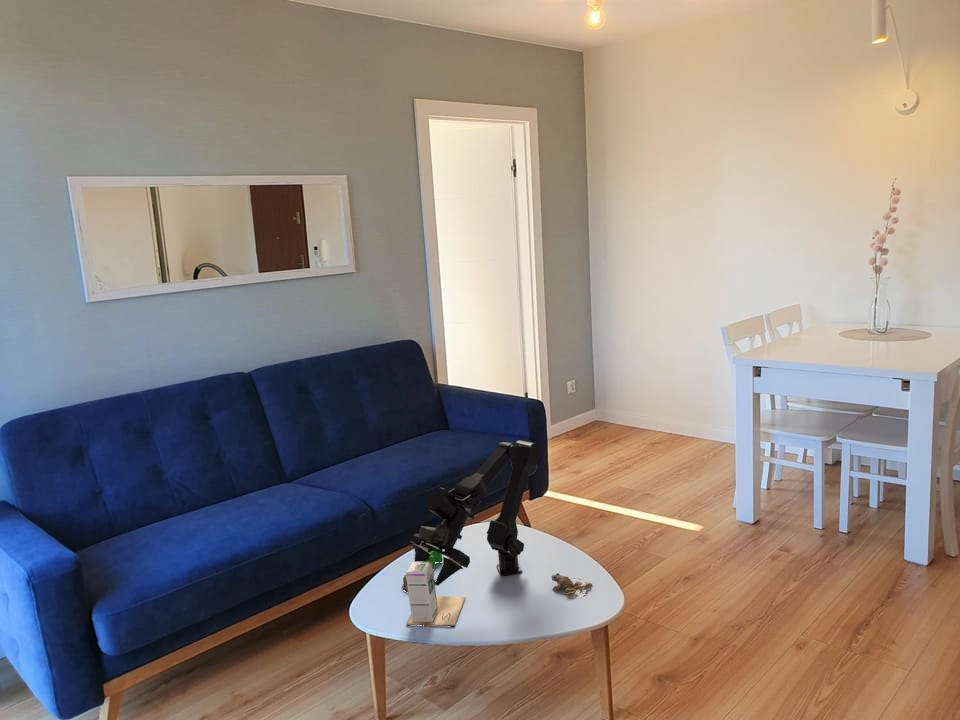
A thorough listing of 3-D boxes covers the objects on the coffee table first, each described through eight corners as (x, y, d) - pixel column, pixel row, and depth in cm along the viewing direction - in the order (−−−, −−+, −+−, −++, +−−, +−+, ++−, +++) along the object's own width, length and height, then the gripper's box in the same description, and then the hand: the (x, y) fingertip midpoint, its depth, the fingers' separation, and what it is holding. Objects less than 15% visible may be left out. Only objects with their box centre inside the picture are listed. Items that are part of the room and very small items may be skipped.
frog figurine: (540, 596, 204) (539, 583, 203) (561, 576, 214) (560, 564, 213) (578, 605, 198) (577, 592, 197) (597, 584, 207) (596, 572, 206)
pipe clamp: (429, 575, 220) (427, 561, 219) (418, 573, 222) (416, 559, 221) (447, 558, 230) (446, 544, 229) (437, 556, 232) (435, 543, 231)
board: (406, 625, 194) (406, 623, 194) (420, 597, 208) (420, 595, 207) (454, 627, 192) (454, 624, 191) (465, 598, 205) (465, 596, 205)
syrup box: (432, 622, 193) (427, 571, 190) (411, 622, 195) (405, 571, 192) (438, 611, 199) (432, 561, 196) (417, 610, 200) (411, 560, 197)
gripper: (411, 505, 203) (383, 558, 197) (458, 522, 189) (429, 578, 184) (436, 522, 210) (409, 574, 204) (482, 539, 196) (455, 595, 191)
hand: (424, 579), depth 196 cm, fingers open, 9 cm apart
